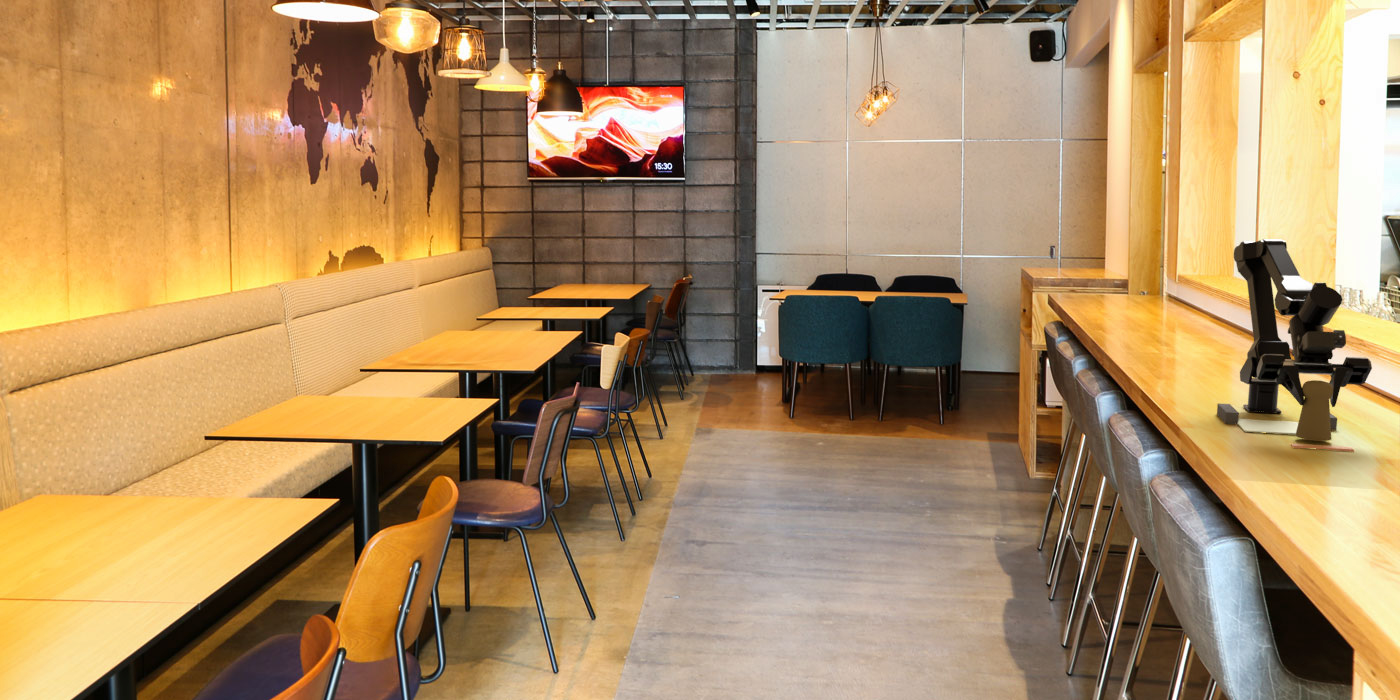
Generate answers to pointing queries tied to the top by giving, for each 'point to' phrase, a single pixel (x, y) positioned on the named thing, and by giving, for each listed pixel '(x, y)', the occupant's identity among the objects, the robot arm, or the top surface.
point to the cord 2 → (1333, 421)
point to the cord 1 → (1227, 413)
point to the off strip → (1323, 447)
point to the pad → (1268, 426)
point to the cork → (1315, 411)
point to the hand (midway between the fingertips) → (1318, 404)
